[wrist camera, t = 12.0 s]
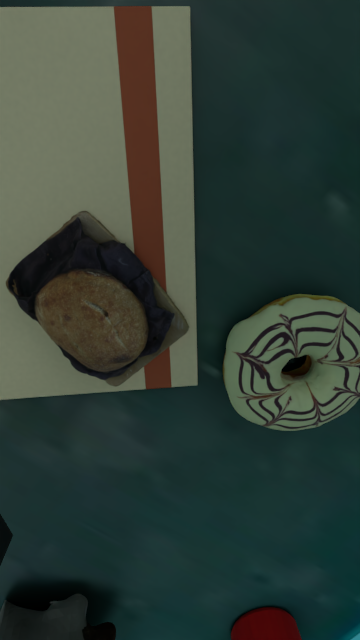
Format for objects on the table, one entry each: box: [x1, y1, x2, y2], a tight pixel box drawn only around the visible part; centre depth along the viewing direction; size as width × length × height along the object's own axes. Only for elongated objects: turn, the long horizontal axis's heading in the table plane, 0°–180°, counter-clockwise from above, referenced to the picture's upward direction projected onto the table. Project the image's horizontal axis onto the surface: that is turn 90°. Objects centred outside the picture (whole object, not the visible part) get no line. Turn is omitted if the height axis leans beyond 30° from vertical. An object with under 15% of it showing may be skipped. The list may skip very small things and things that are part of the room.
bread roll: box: [6, 211, 190, 386], centre depth 21 cm, size 11×8×4 cm
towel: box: [0, 6, 198, 400], centre depth 21 cm, size 24×23×1 cm
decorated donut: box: [223, 294, 360, 431], centre depth 24 cm, size 10×11×4 cm
